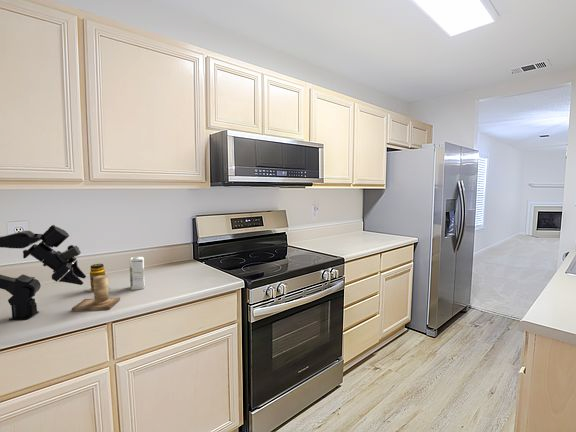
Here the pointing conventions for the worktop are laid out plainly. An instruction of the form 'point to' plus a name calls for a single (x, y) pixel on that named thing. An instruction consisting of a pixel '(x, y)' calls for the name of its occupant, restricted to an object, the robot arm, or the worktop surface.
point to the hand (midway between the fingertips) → (83, 280)
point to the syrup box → (137, 273)
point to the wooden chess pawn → (101, 290)
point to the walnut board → (88, 305)
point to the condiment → (95, 274)
